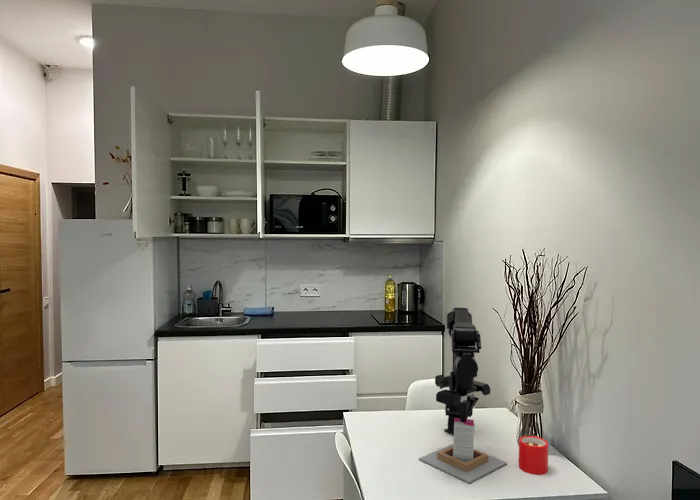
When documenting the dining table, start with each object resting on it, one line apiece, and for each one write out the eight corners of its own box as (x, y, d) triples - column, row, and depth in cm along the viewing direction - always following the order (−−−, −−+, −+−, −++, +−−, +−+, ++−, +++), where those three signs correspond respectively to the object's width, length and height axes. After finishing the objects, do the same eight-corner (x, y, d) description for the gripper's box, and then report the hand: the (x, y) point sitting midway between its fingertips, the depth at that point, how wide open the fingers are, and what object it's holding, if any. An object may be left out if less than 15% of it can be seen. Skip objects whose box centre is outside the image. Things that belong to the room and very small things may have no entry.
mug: (549, 459, 146) (550, 433, 145) (546, 477, 135) (547, 449, 135) (521, 454, 149) (522, 428, 149) (516, 471, 138) (517, 443, 138)
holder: (457, 444, 156) (457, 436, 156) (506, 464, 142) (507, 455, 142) (418, 460, 144) (419, 451, 144) (469, 484, 130) (469, 474, 130)
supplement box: (473, 465, 140) (474, 426, 139) (452, 463, 141) (453, 424, 141) (473, 457, 145) (473, 419, 145) (452, 454, 147) (453, 417, 146)
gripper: (461, 359, 155) (460, 407, 155) (422, 368, 143) (421, 421, 143) (491, 366, 146) (490, 417, 146) (452, 376, 134) (451, 432, 134)
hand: (463, 421), depth 143 cm, fingers closed, pressing on supplement box
